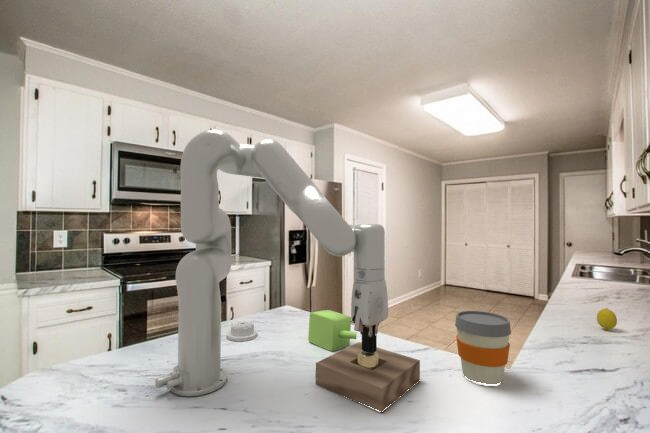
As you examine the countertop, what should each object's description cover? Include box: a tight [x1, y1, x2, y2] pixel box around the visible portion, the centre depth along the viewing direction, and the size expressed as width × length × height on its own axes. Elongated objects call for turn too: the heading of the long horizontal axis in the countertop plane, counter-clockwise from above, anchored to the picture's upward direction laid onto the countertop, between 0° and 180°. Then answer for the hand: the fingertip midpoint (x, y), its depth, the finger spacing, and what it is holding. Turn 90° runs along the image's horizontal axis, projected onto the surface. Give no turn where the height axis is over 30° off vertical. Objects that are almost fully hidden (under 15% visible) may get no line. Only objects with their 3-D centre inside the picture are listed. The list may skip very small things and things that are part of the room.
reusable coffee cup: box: [454, 310, 512, 384], centre depth 81 cm, size 13×13×15 cm
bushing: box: [358, 350, 378, 370], centre depth 78 cm, size 5×5×7 cm
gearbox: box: [307, 309, 358, 352], centre depth 103 cm, size 18×10×10 cm, turn 45°
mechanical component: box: [226, 320, 258, 342], centre depth 109 cm, size 10×4×10 cm
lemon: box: [596, 307, 618, 331], centre depth 118 cm, size 6×6×8 cm
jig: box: [315, 341, 421, 412], centre depth 78 cm, size 18×18×5 cm
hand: (369, 350), depth 78 cm, fingers closed
